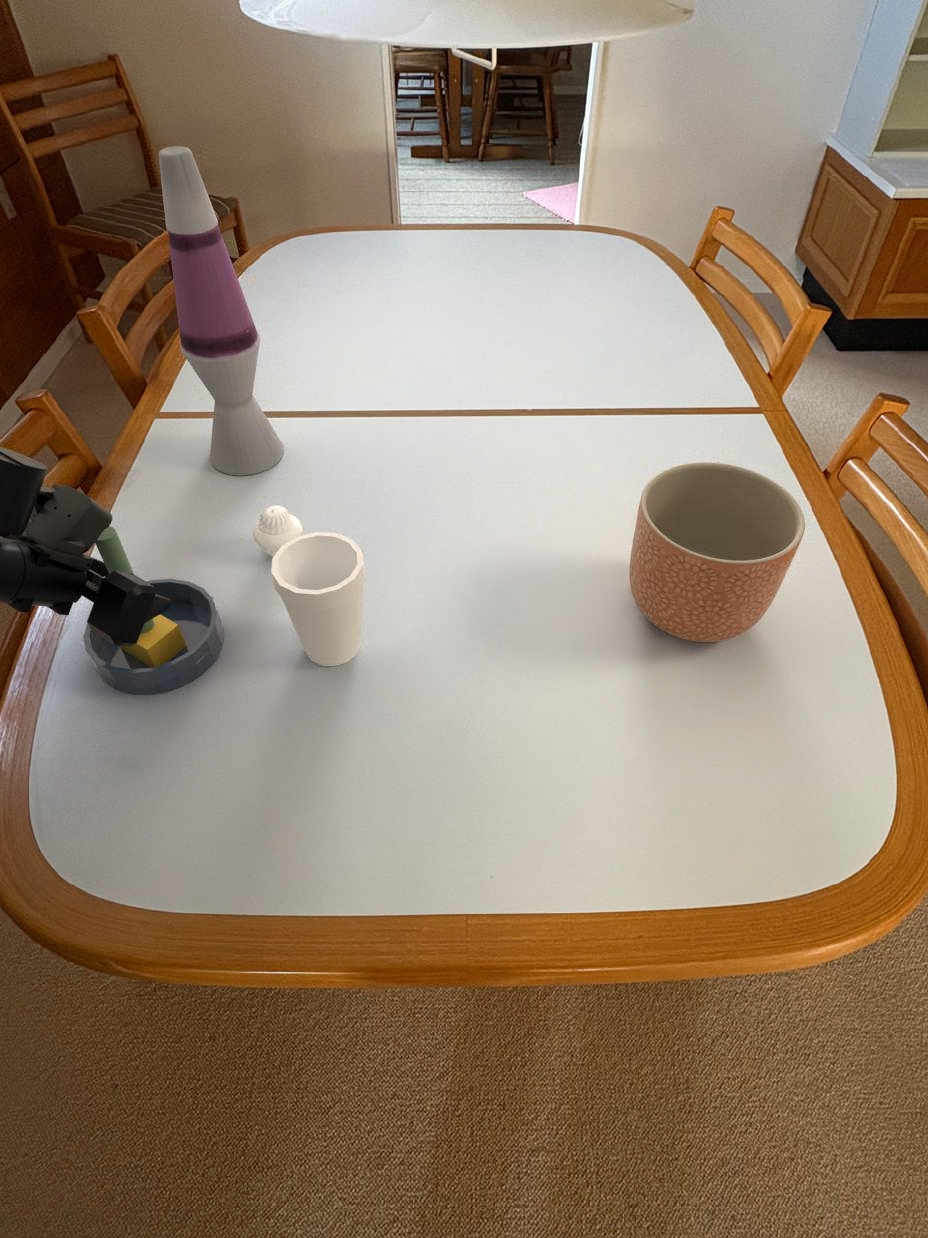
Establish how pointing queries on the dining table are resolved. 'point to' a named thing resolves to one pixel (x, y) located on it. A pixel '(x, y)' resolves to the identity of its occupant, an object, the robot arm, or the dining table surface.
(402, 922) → the dining table surface
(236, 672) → the dining table surface
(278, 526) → the white citrus juicer
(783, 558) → the planter
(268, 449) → the lamp
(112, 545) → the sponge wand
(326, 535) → the foam cup
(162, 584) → the bowl
